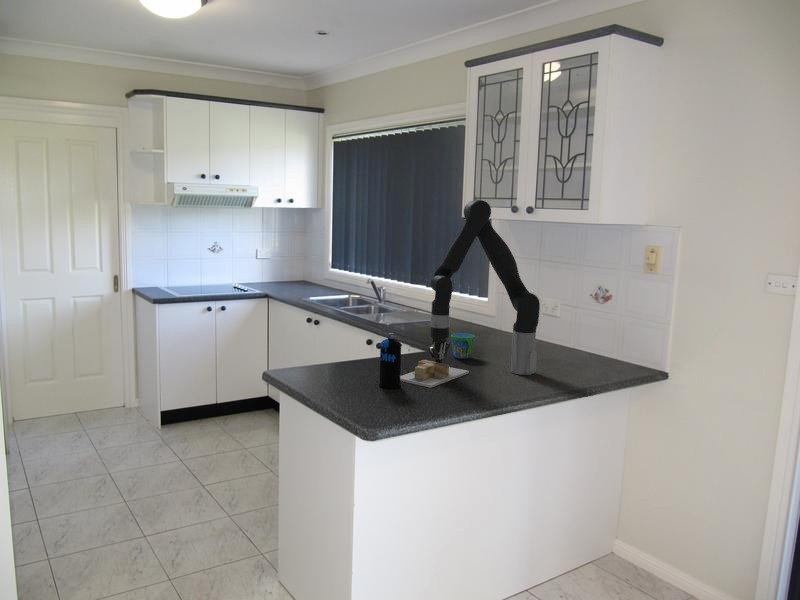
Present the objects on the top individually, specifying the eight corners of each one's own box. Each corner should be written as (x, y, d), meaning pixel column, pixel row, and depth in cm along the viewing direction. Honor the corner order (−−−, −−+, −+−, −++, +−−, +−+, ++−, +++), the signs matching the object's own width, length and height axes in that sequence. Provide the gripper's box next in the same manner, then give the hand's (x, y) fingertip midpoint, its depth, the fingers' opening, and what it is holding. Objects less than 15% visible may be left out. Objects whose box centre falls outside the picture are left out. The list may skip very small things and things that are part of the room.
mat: (468, 373, 267) (468, 370, 267) (430, 387, 245) (430, 385, 245) (435, 366, 277) (435, 364, 276) (395, 380, 254) (395, 377, 254)
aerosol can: (388, 381, 252) (389, 330, 249) (405, 385, 246) (406, 333, 244) (374, 385, 245) (375, 333, 242) (391, 390, 240) (392, 336, 237)
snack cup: (480, 361, 289) (481, 338, 287) (457, 362, 285) (458, 339, 284) (466, 353, 303) (467, 331, 302) (444, 354, 300) (445, 332, 299)
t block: (423, 370, 265) (423, 359, 265) (448, 375, 259) (449, 364, 258) (405, 376, 256) (406, 365, 255) (431, 382, 249) (432, 370, 248)
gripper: (438, 329, 254) (437, 373, 256) (456, 324, 264) (455, 366, 267) (422, 326, 258) (421, 369, 261) (441, 322, 269) (439, 363, 271)
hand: (438, 368), depth 264 cm, fingers closed
